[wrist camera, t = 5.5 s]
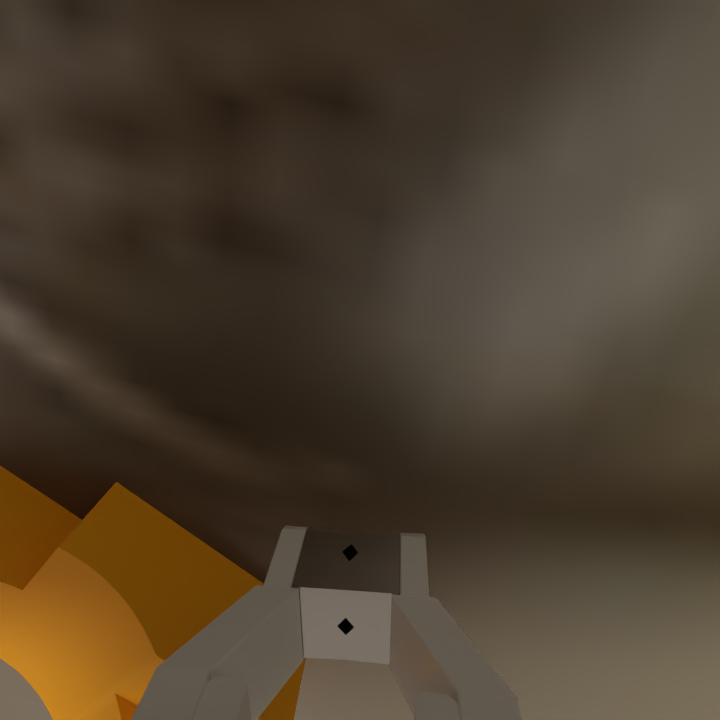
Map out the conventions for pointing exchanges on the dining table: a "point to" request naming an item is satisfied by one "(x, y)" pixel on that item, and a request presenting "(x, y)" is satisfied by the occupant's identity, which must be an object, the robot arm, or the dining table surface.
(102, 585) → the pipe clamp
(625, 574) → the dining table surface
